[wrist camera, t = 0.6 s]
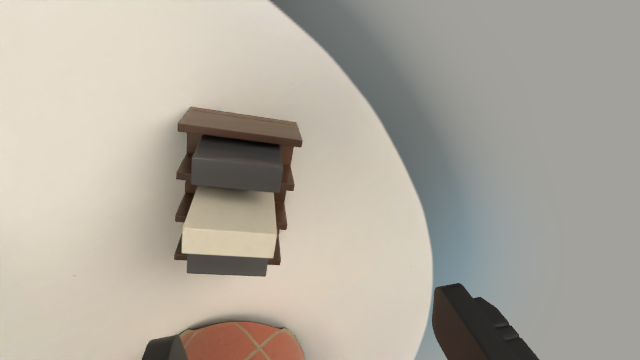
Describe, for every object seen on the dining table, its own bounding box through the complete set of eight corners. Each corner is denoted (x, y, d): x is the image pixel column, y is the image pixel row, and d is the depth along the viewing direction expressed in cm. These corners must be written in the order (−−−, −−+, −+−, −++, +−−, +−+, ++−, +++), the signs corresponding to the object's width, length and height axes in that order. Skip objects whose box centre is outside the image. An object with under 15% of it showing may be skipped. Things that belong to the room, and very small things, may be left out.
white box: (204, 167, 30) (182, 227, 21) (272, 175, 31) (277, 234, 23) (202, 188, 30) (181, 253, 22) (269, 194, 32) (273, 258, 23)
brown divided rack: (190, 106, 28) (167, 136, 21) (296, 122, 30) (307, 154, 23) (185, 227, 33) (165, 285, 26) (277, 234, 35) (281, 289, 28)
